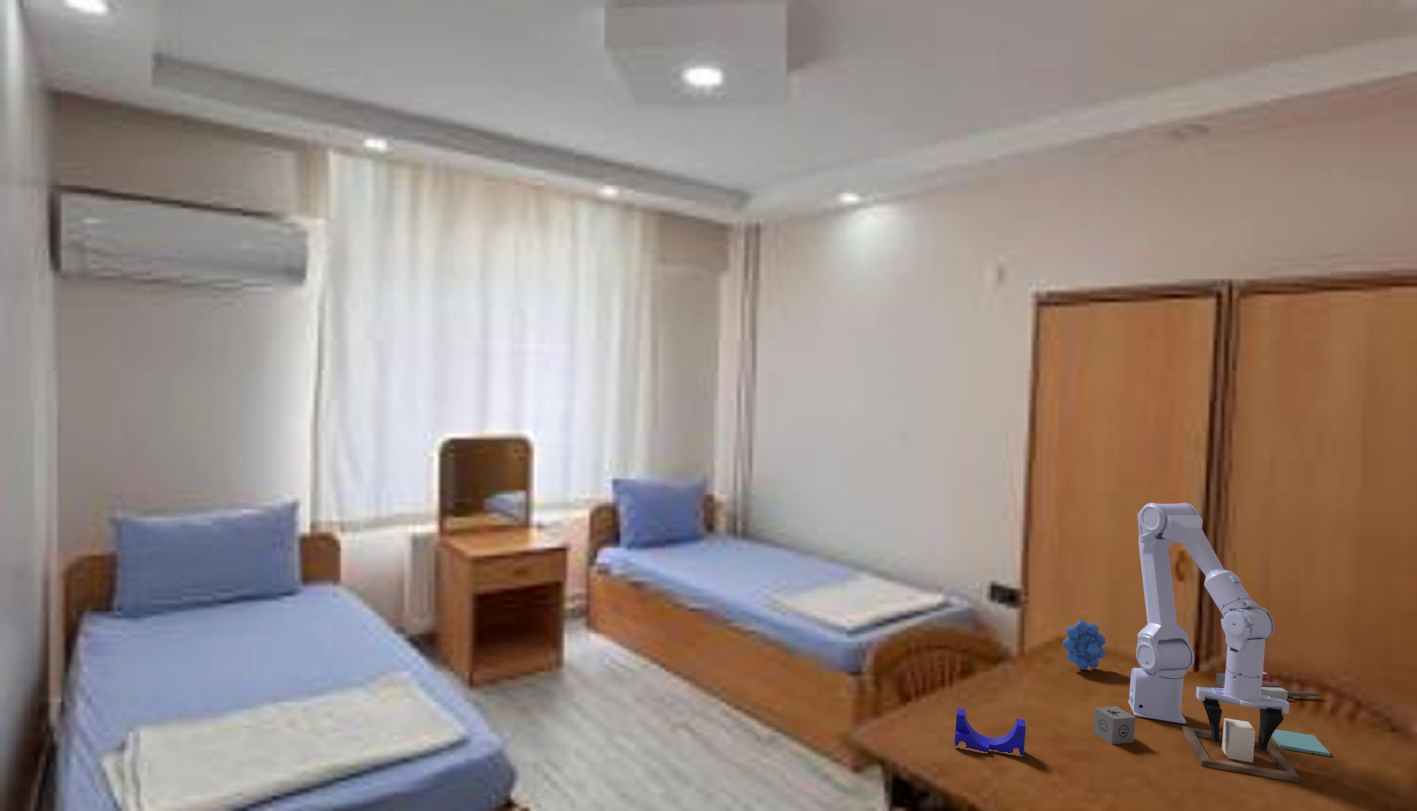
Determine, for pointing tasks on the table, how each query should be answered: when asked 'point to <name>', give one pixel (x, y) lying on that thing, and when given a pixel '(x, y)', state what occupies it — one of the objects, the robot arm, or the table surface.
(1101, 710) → the dice cube
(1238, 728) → the cream block
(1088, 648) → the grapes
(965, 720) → the blue cradle stand
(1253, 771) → the brown square frame
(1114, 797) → the table surface
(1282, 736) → the mat
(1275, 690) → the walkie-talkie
